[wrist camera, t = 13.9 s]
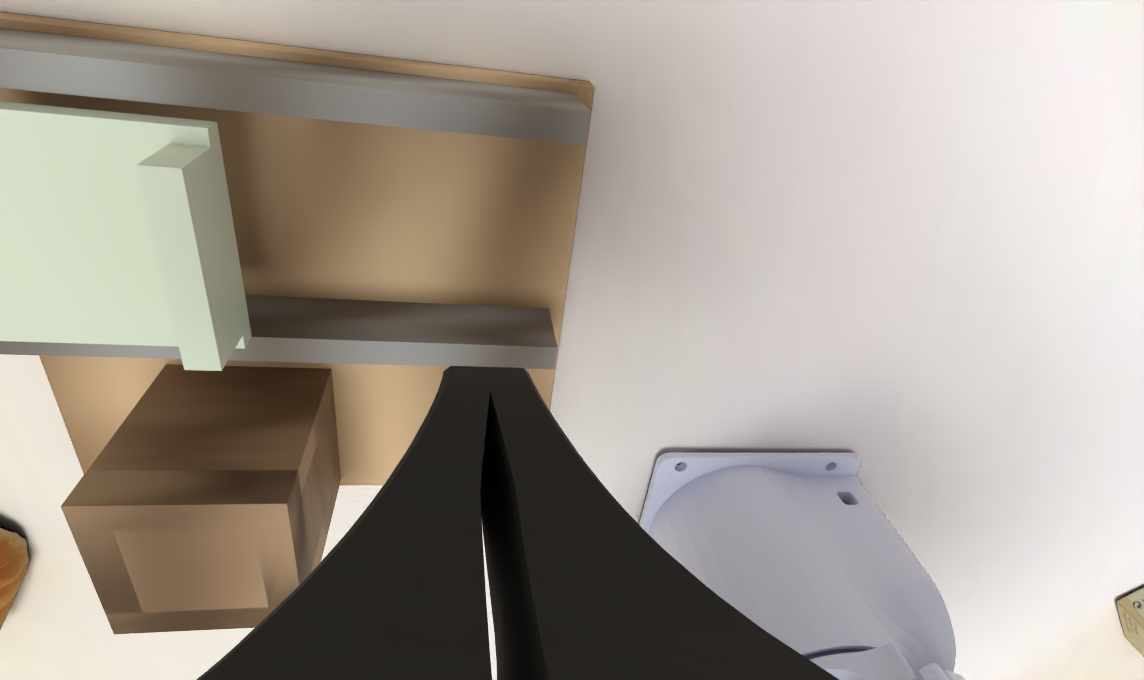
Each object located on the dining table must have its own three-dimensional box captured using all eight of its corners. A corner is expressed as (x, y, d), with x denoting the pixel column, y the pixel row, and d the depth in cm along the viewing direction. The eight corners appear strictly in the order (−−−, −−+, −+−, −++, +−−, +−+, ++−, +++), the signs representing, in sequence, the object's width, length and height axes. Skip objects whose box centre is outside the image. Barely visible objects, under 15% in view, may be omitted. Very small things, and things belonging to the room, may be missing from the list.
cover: (217, 121, 14) (177, 148, 12) (252, 336, 16) (224, 384, 15) (-81, 93, 13) (-176, 117, 11) (11, 328, 15) (-51, 379, 14)
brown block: (331, 368, 20) (287, 503, 15) (340, 478, 23) (305, 624, 18) (165, 364, 20) (60, 506, 15) (194, 479, 22) (114, 634, 17)
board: (588, 81, 18) (611, 105, 15) (537, 466, 25) (545, 530, 23) (-60, 5, 15) (-188, 16, 12) (102, 467, 22) (50, 541, 20)
